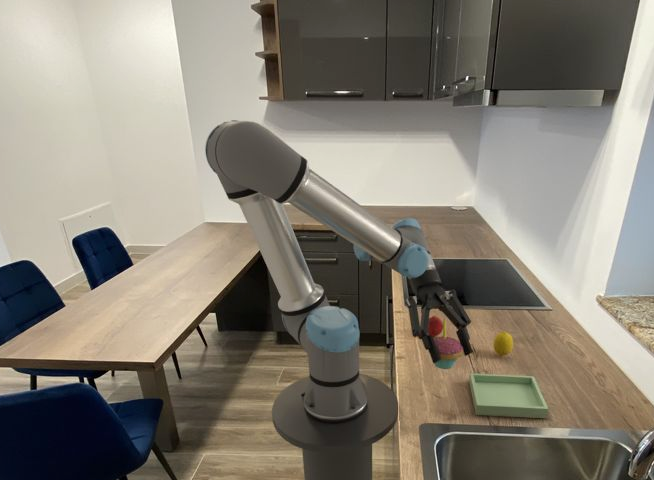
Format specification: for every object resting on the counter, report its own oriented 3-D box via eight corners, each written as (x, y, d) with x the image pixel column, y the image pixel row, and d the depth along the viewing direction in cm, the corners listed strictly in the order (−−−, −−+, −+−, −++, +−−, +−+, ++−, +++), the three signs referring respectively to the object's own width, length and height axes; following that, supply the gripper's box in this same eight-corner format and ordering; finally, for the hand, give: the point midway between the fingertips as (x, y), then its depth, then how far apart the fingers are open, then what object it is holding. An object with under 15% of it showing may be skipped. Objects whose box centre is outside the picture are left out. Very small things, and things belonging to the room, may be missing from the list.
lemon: (493, 359, 131) (496, 335, 128) (491, 351, 136) (494, 327, 133) (512, 360, 130) (516, 336, 127) (509, 352, 135) (512, 328, 132)
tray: (475, 414, 106) (476, 405, 105) (469, 382, 120) (470, 373, 119) (546, 418, 105) (548, 408, 104) (532, 385, 118) (533, 376, 117)
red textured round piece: (443, 340, 142) (445, 318, 139) (425, 341, 142) (427, 318, 139) (440, 332, 148) (442, 310, 144) (423, 333, 147) (424, 311, 144)
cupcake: (421, 359, 113) (424, 316, 109) (450, 354, 116) (454, 312, 111) (437, 376, 106) (441, 330, 101) (468, 370, 109) (473, 325, 104)
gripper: (390, 273, 106) (421, 361, 99) (464, 263, 115) (496, 344, 108) (380, 287, 113) (408, 371, 106) (450, 276, 121) (481, 353, 114)
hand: (453, 357), depth 107 cm, fingers closed on cupcake, 8 cm apart
